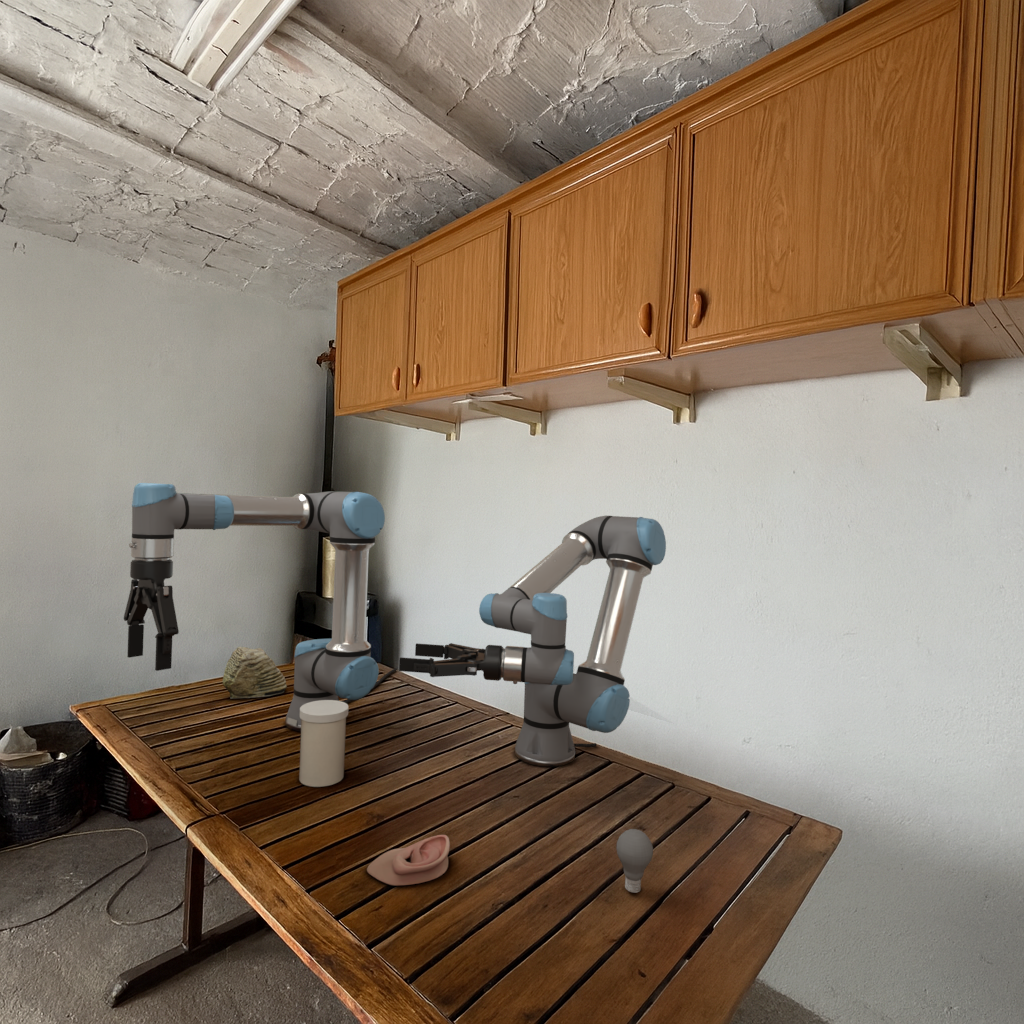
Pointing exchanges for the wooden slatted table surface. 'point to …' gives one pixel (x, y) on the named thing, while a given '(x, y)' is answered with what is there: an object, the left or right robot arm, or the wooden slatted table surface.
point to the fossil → (252, 674)
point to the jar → (322, 753)
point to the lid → (323, 711)
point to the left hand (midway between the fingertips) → (148, 662)
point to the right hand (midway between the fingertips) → (407, 656)
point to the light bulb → (634, 857)
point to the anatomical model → (412, 862)
